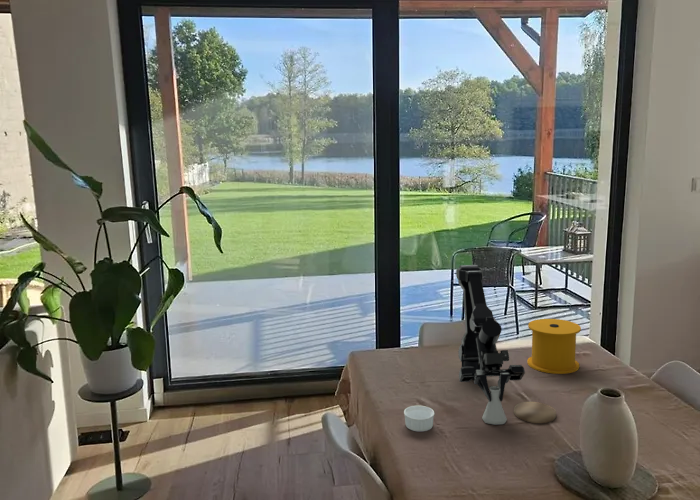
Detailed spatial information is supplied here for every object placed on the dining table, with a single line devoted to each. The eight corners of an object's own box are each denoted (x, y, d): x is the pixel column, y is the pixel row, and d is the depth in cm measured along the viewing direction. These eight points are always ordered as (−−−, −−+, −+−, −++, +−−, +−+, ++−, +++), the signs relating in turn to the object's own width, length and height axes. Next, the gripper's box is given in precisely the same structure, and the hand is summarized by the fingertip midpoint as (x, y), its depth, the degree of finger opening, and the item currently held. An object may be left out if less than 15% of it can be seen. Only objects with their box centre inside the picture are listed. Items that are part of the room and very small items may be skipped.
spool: (583, 360, 215) (585, 322, 212) (573, 377, 200) (574, 336, 197) (534, 353, 225) (535, 315, 222) (521, 368, 210) (522, 328, 207)
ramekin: (437, 420, 172) (437, 407, 171) (431, 434, 164) (431, 420, 163) (407, 417, 175) (407, 403, 174) (400, 430, 167) (400, 416, 166)
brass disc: (508, 416, 173) (508, 413, 173) (521, 402, 183) (521, 398, 182) (548, 427, 166) (549, 423, 166) (560, 411, 176) (561, 407, 175)
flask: (507, 426, 167) (508, 394, 165) (482, 424, 169) (482, 392, 167) (506, 415, 174) (506, 383, 172) (481, 413, 176) (481, 382, 174)
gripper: (460, 341, 171) (467, 391, 162) (523, 339, 171) (534, 389, 162) (455, 356, 180) (462, 405, 171) (515, 355, 180) (525, 403, 171)
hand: (495, 401), depth 169 cm, fingers closed on flask, 3 cm apart
